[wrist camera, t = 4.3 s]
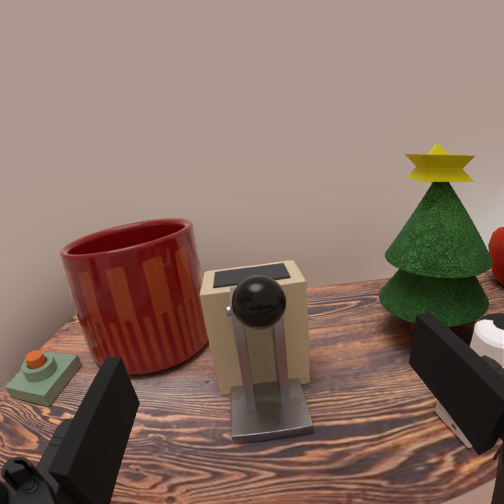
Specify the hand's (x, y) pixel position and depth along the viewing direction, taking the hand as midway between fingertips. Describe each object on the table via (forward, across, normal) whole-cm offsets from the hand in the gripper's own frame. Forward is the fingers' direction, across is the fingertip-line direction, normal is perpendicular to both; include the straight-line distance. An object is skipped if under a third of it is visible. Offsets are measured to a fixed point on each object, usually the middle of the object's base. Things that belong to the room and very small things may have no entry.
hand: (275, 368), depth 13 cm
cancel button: (+26, -37, -17) cm, 48 cm away
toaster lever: (+12, 0, -5) cm, 13 cm away
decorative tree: (+28, +28, -20) cm, 45 cm away
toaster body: (+26, 0, -20) cm, 33 cm away
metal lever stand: (+19, 0, -20) cm, 28 cm away
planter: (+38, -20, -20) cm, 47 cm away
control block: (+26, -37, -20) cm, 49 cm away
